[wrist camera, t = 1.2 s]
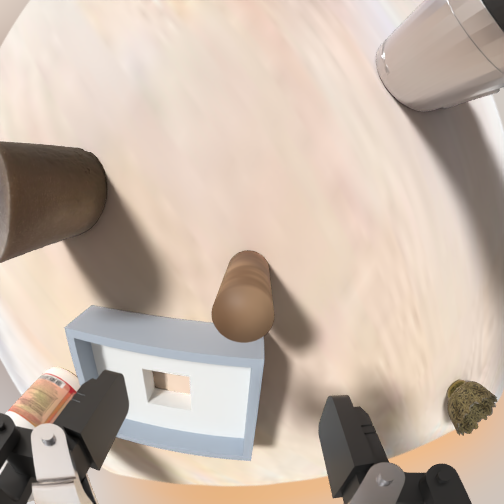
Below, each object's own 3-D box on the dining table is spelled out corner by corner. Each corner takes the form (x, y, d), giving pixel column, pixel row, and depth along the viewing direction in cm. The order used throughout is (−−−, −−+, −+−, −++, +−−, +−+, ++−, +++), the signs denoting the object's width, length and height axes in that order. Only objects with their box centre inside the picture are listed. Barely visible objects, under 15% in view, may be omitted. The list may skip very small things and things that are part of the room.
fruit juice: (105, 404, 33) (24, 547, 6) (78, 416, 34) (6, 532, 7) (62, 356, 31) (-51, 484, 4) (39, 375, 33) (-52, 480, 5)
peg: (271, 252, 27) (277, 289, 17) (267, 291, 28) (270, 344, 18) (228, 248, 27) (212, 284, 17) (226, 288, 28) (211, 339, 18)
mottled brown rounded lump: (441, 411, 33) (462, 442, 25) (430, 392, 31) (453, 426, 24) (475, 381, 31) (499, 409, 24) (467, 359, 30) (495, 388, 22)
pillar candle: (103, 138, 25) (-4, 117, 10) (113, 229, 27) (8, 269, 12) (41, 161, 25) (-57, 162, 11) (51, 240, 28) (-44, 276, 13)
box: (263, 327, 29) (264, 359, 23) (252, 427, 33) (250, 460, 27) (91, 305, 29) (64, 327, 23) (112, 403, 33) (96, 430, 27)
